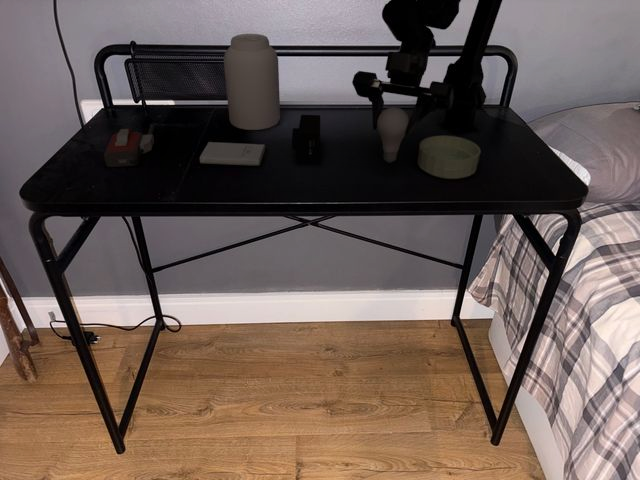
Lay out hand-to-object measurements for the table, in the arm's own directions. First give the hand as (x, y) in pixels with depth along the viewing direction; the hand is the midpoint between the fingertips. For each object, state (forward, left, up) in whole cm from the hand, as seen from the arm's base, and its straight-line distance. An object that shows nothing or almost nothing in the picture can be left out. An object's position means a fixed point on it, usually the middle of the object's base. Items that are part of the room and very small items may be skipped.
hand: (390, 131), depth 94 cm
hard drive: (+24, -23, -11) cm, 35 cm away
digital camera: (+9, -18, -11) cm, 23 cm away
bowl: (-15, 0, -10) cm, 18 cm away
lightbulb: (-1, -1, -7) cm, 7 cm away
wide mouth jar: (+13, -40, -11) cm, 43 cm away
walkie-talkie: (+43, -36, -11) cm, 57 cm away
